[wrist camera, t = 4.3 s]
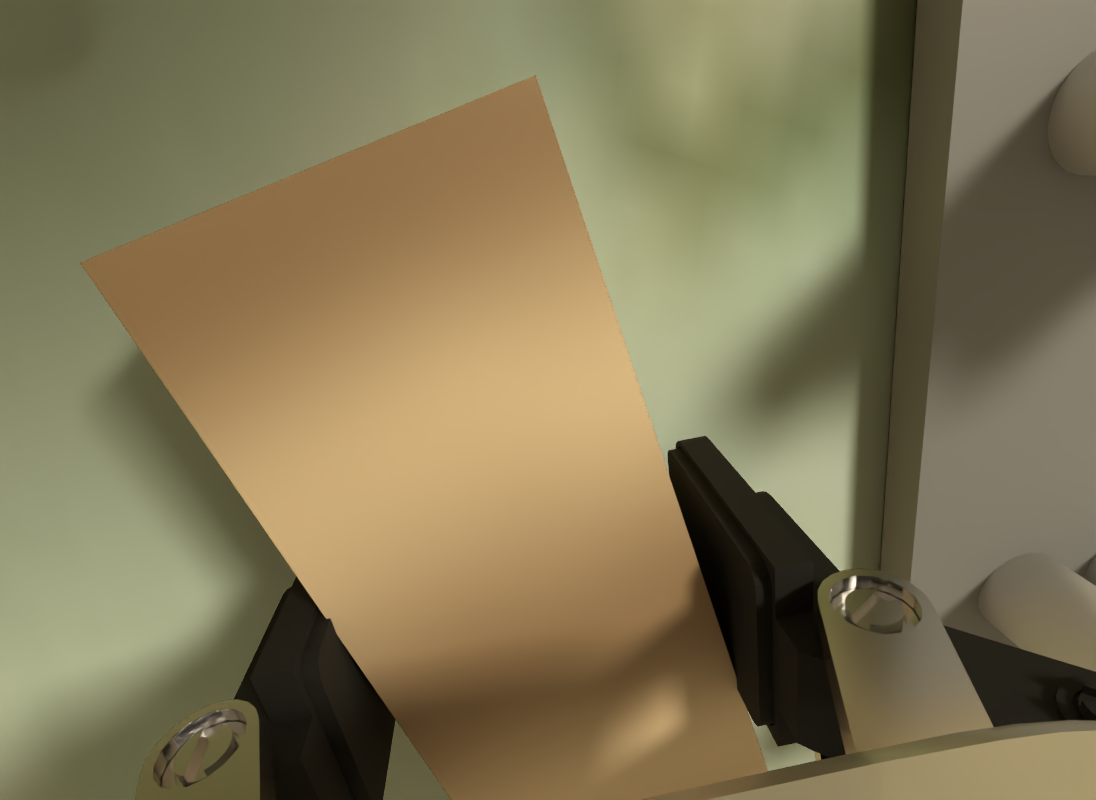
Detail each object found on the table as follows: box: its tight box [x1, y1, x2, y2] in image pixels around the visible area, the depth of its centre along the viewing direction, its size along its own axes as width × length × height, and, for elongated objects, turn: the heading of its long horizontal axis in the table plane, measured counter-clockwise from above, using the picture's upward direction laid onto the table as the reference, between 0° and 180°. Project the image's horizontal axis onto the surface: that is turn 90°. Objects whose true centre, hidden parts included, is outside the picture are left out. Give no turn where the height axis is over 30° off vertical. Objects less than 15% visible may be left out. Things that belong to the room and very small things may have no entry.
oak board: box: [81, 76, 768, 800], centre depth 10 cm, size 14×5×4 cm, turn 21°
